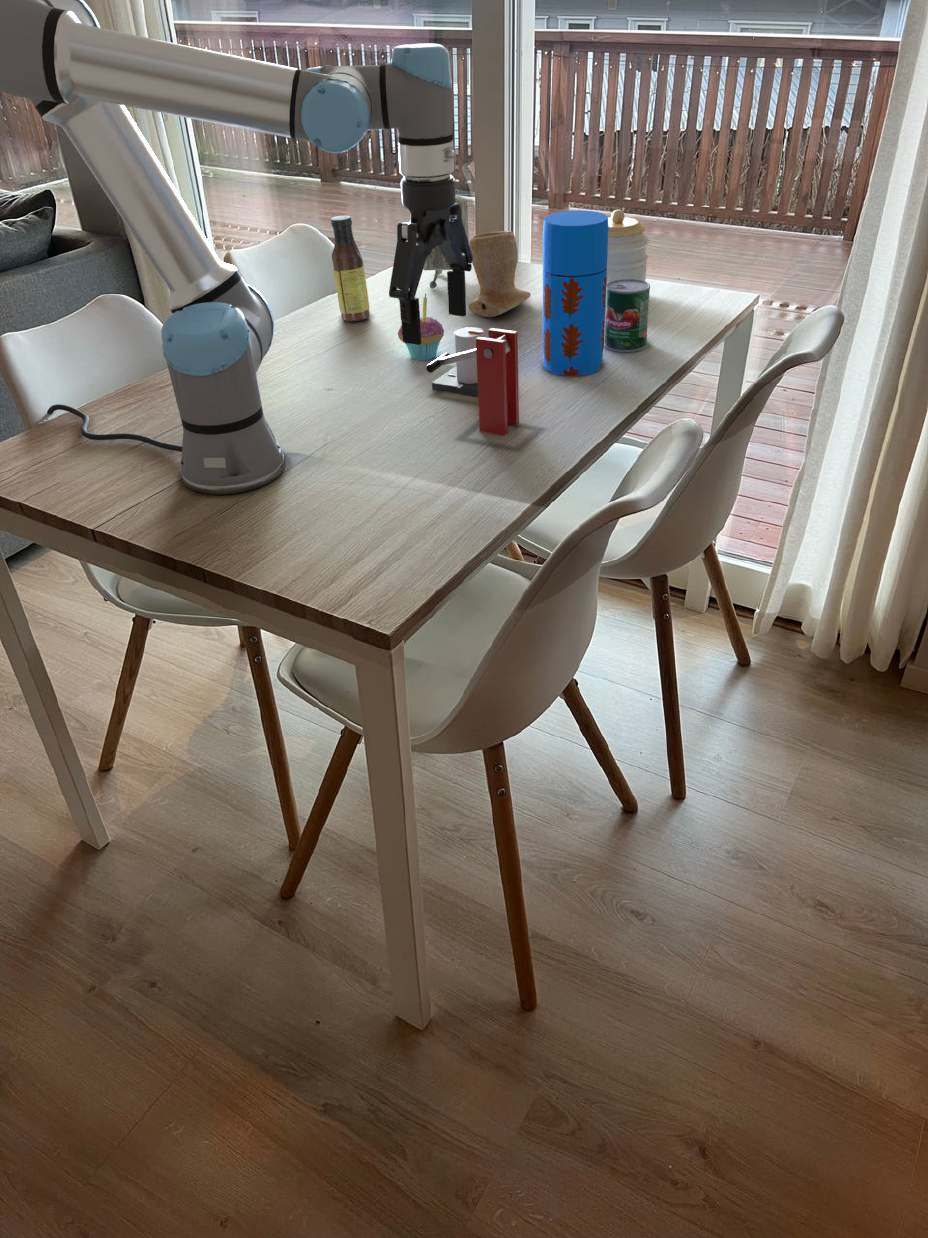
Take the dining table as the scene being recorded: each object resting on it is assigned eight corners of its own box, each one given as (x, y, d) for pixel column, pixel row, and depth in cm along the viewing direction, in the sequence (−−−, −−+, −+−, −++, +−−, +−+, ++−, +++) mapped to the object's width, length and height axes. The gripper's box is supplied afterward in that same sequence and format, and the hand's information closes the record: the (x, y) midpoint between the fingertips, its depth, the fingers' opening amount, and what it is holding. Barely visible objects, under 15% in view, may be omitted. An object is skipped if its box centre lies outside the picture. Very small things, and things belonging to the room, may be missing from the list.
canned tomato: (645, 337, 177) (649, 278, 171) (647, 351, 171) (651, 291, 164) (603, 337, 178) (605, 279, 171) (604, 352, 172) (606, 292, 165)
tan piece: (489, 294, 203) (487, 221, 195) (537, 300, 198) (537, 226, 189) (452, 314, 193) (448, 239, 184) (502, 322, 188) (500, 245, 179)
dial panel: (431, 397, 159) (430, 382, 157) (456, 378, 165) (455, 364, 163) (488, 407, 154) (487, 392, 152) (512, 387, 160) (511, 372, 159)
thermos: (600, 377, 162) (606, 226, 147) (539, 375, 164) (539, 226, 149) (605, 354, 171) (611, 209, 156) (547, 353, 173) (547, 210, 158)
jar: (649, 306, 191) (655, 215, 181) (586, 309, 192) (588, 219, 181) (640, 287, 202) (645, 200, 191) (580, 290, 202) (582, 203, 192)
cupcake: (454, 353, 175) (451, 289, 168) (423, 367, 170) (417, 301, 163) (422, 344, 180) (417, 281, 173) (390, 357, 175) (384, 293, 168)
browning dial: (452, 381, 157) (449, 333, 152) (465, 371, 161) (463, 323, 156) (477, 385, 155) (474, 336, 150) (490, 375, 159) (488, 327, 154)
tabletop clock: (432, 272, 219) (424, 155, 204) (470, 271, 218) (465, 154, 203) (424, 291, 207) (415, 169, 192) (464, 290, 206) (458, 167, 191)
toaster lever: (429, 377, 143) (423, 362, 142) (446, 364, 146) (441, 350, 146) (499, 358, 135) (493, 343, 134) (515, 346, 139) (510, 330, 138)
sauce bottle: (376, 315, 195) (365, 214, 184) (358, 324, 191) (346, 222, 180) (352, 311, 198) (340, 212, 187) (333, 320, 194) (320, 219, 183)
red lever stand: (459, 439, 145) (453, 339, 135) (483, 419, 150) (479, 322, 141) (517, 450, 141) (515, 348, 131) (539, 429, 146) (539, 330, 137)
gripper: (403, 196, 118) (414, 359, 130) (493, 160, 135) (495, 306, 148) (354, 192, 121) (369, 351, 133) (448, 157, 138) (454, 301, 151)
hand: (435, 328), depth 140 cm, fingers open, 13 cm apart
